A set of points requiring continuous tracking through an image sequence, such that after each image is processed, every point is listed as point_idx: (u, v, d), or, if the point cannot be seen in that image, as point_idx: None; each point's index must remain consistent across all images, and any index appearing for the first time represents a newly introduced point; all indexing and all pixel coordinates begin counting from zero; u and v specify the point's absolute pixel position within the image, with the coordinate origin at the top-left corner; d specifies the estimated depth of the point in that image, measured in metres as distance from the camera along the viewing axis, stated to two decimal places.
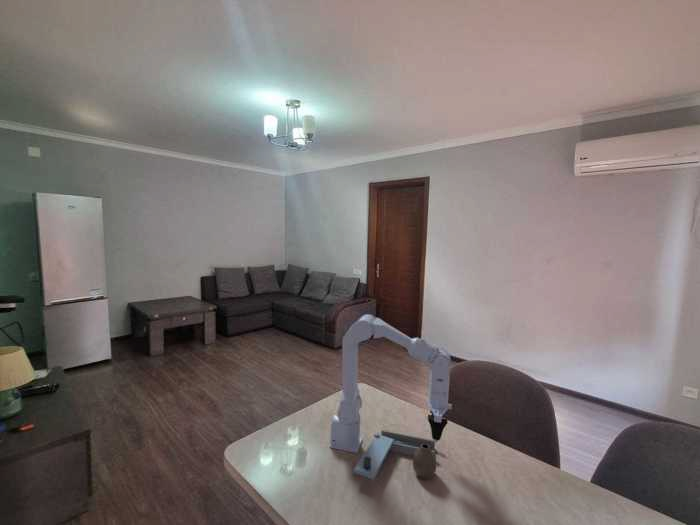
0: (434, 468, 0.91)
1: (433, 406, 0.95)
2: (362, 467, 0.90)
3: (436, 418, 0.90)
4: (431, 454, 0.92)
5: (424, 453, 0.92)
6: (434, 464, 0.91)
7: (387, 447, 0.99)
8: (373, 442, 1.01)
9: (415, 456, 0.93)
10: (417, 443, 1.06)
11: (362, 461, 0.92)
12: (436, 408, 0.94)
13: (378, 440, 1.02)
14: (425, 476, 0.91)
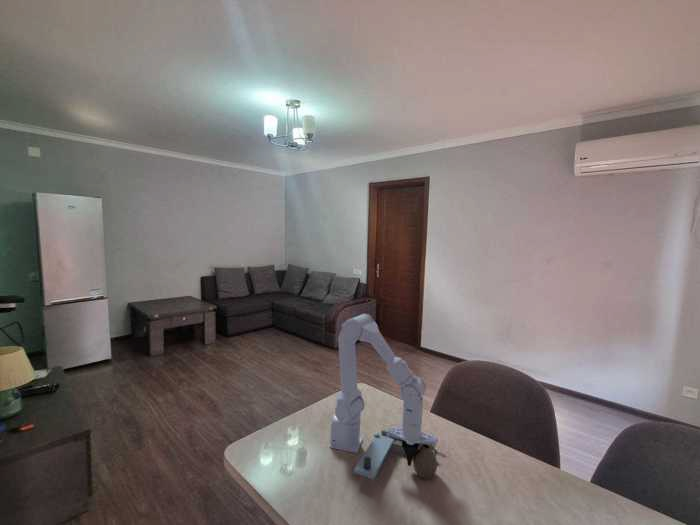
0: (435, 468, 0.91)
1: None
2: (362, 467, 0.90)
3: (387, 431, 0.96)
4: (432, 454, 0.92)
5: (424, 453, 0.92)
6: (435, 464, 0.91)
7: (387, 447, 0.99)
8: (373, 442, 1.01)
9: (416, 456, 0.93)
10: None
11: (362, 461, 0.92)
12: (401, 431, 0.95)
13: (378, 440, 1.02)
14: (426, 476, 0.90)
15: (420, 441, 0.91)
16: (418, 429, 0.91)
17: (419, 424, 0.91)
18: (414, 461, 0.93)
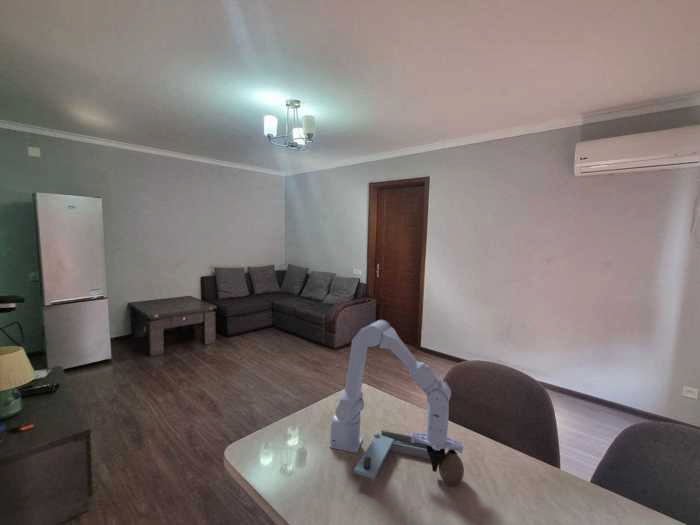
0: (462, 474, 0.89)
1: None
2: (362, 467, 0.90)
3: (411, 436, 0.94)
4: (458, 460, 0.90)
5: (451, 459, 0.90)
6: (462, 470, 0.89)
7: (387, 447, 0.99)
8: (373, 442, 1.01)
9: (442, 462, 0.91)
10: (417, 443, 1.06)
11: (362, 461, 0.92)
12: (425, 436, 0.93)
13: (378, 440, 1.02)
14: (452, 483, 0.88)
15: (446, 446, 0.89)
16: (444, 434, 0.89)
17: (445, 429, 0.90)
18: (440, 467, 0.91)
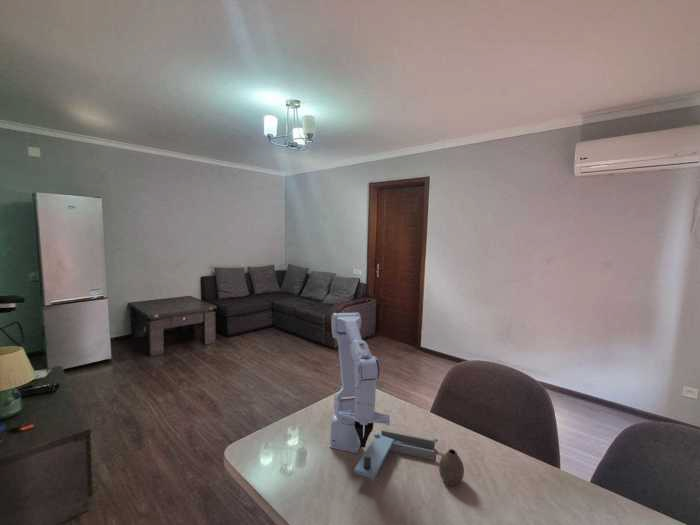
0: (462, 475, 0.89)
1: None
2: (362, 467, 0.90)
3: None
4: (458, 460, 0.90)
5: (451, 459, 0.90)
6: (462, 470, 0.89)
7: (387, 447, 0.99)
8: (373, 442, 1.01)
9: (442, 462, 0.91)
10: (417, 443, 1.06)
11: (362, 461, 0.92)
12: (354, 413, 0.91)
13: (378, 440, 1.02)
14: (453, 483, 0.88)
15: (374, 420, 0.88)
16: (372, 408, 0.88)
17: (373, 403, 0.88)
18: (440, 467, 0.91)
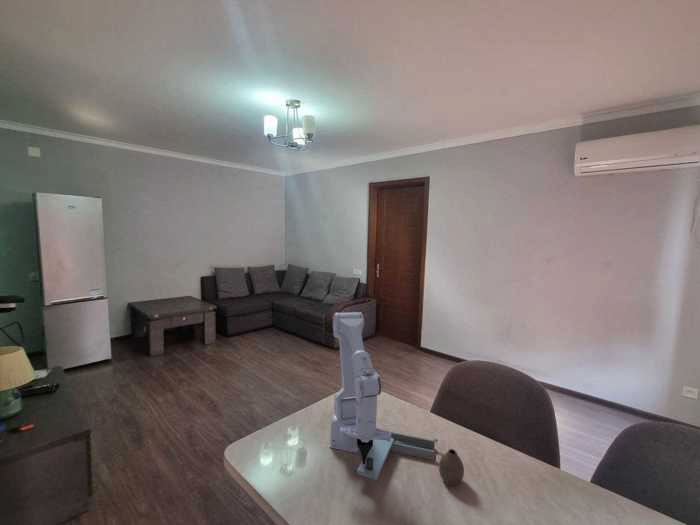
0: (462, 475, 0.89)
1: None
2: (365, 468, 0.90)
3: (340, 431, 0.91)
4: (458, 460, 0.90)
5: (451, 459, 0.90)
6: (462, 470, 0.89)
7: (388, 447, 0.99)
8: (374, 442, 1.01)
9: (442, 462, 0.91)
10: (417, 443, 1.06)
11: None
12: (355, 429, 0.91)
13: (379, 440, 1.02)
14: (453, 483, 0.88)
15: (375, 437, 0.88)
16: (373, 425, 0.88)
17: (374, 420, 0.88)
18: (440, 467, 0.91)
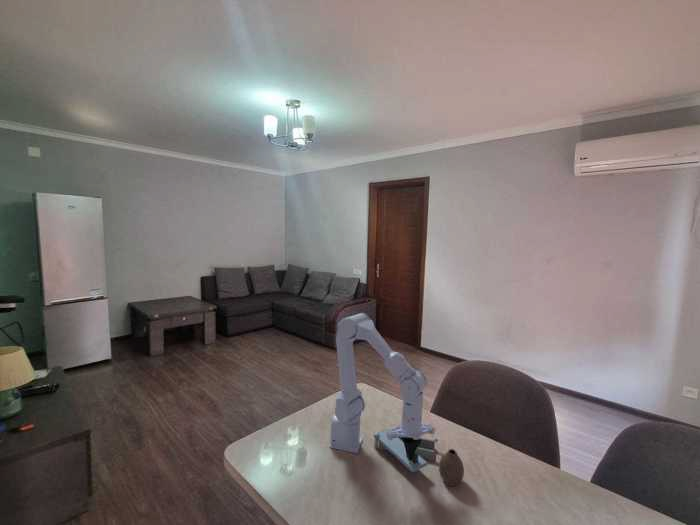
0: (462, 475, 0.89)
1: (401, 427, 0.93)
2: (413, 463, 0.92)
3: (387, 434, 0.91)
4: (458, 460, 0.90)
5: (451, 459, 0.90)
6: (462, 470, 0.89)
7: None
8: (384, 441, 1.02)
9: (442, 462, 0.91)
10: None
11: (405, 459, 0.94)
12: (400, 429, 0.92)
13: (383, 437, 1.04)
14: (453, 483, 0.88)
15: (423, 433, 0.91)
16: (421, 421, 0.91)
17: (421, 416, 0.91)
18: (440, 467, 0.91)
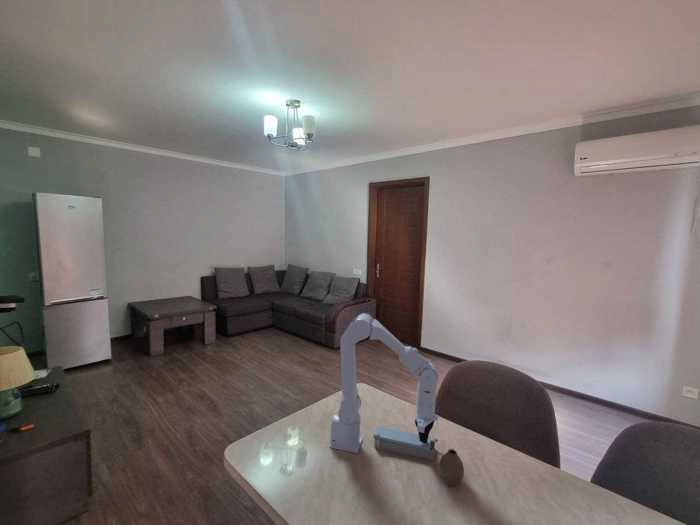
0: (462, 475, 0.89)
1: (419, 416, 0.99)
2: (425, 443, 1.02)
3: (419, 428, 0.94)
4: (458, 460, 0.90)
5: (451, 459, 0.90)
6: (462, 470, 0.89)
7: (390, 429, 1.08)
8: (388, 437, 1.04)
9: (442, 462, 0.91)
10: None
11: (417, 443, 1.02)
12: (421, 418, 0.98)
13: (382, 434, 1.05)
14: (453, 483, 0.88)
15: None
16: None
17: None
18: (440, 467, 0.91)
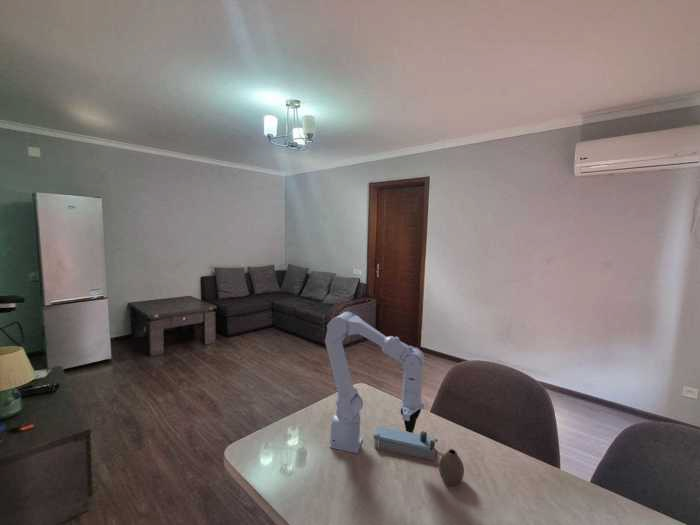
0: (462, 475, 0.89)
1: (405, 405, 0.96)
2: (425, 443, 1.02)
3: (404, 416, 0.91)
4: (458, 460, 0.90)
5: (451, 459, 0.90)
6: (462, 470, 0.89)
7: (390, 429, 1.08)
8: (388, 437, 1.04)
9: (442, 462, 0.91)
10: None
11: (417, 443, 1.02)
12: (407, 407, 0.95)
13: (382, 434, 1.05)
14: (453, 483, 0.88)
15: None
16: None
17: None
18: (440, 467, 0.91)
